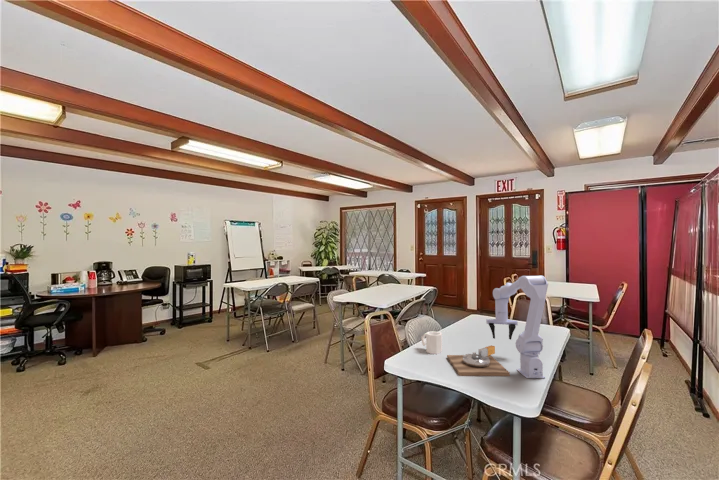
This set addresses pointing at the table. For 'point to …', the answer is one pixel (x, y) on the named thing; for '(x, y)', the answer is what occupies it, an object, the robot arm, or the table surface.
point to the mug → (432, 342)
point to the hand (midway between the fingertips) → (501, 338)
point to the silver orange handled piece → (479, 357)
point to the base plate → (467, 370)
